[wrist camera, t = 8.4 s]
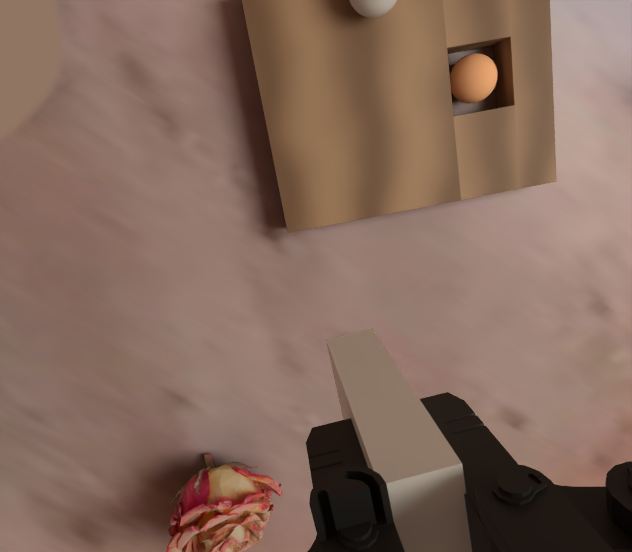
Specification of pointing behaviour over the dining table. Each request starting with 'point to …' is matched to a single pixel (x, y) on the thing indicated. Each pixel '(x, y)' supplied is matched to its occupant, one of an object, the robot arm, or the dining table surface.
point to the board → (399, 104)
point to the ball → (473, 78)
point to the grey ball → (372, 7)
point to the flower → (221, 509)
